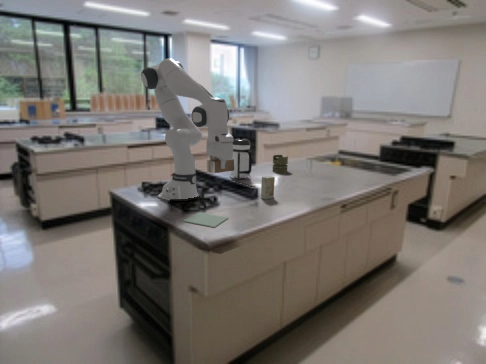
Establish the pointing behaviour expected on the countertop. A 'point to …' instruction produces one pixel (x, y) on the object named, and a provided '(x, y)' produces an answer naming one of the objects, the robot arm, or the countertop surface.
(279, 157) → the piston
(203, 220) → the mat
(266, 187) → the skincare box
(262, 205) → the countertop surface
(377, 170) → the countertop surface
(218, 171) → the block
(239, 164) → the coffee press
